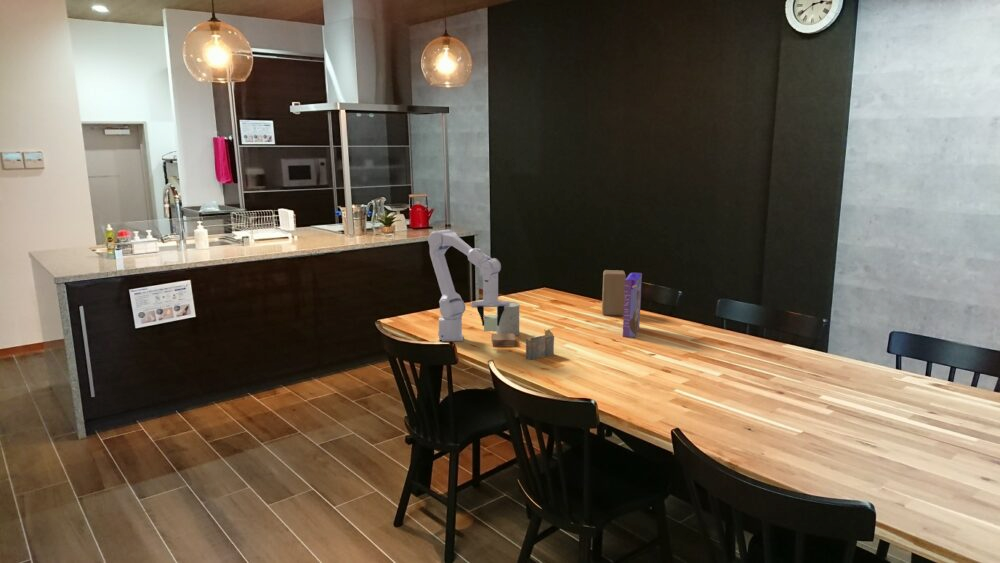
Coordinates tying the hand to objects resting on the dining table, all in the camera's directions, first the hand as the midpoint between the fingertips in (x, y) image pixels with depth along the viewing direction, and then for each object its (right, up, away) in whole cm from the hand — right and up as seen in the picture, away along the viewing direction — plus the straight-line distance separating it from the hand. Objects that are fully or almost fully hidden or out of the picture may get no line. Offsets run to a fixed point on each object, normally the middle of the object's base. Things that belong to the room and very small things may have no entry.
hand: (490, 325), depth 242 cm
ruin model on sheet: (+18, -11, -10) cm, 24 cm away
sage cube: (0, -2, 0) cm, 2 cm away
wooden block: (+57, +2, +54) cm, 78 cm away
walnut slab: (+5, -7, +6) cm, 11 cm away
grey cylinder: (+7, -5, +20) cm, 22 cm away
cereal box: (+59, -5, +23) cm, 63 cm away
